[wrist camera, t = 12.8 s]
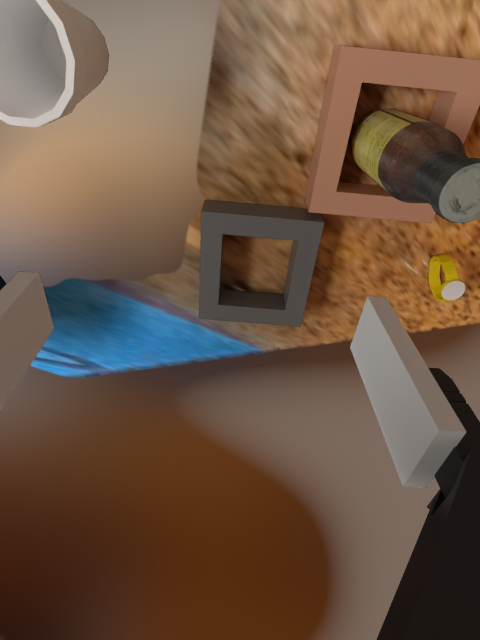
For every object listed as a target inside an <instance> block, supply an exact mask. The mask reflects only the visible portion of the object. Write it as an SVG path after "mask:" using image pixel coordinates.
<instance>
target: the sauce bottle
mask: <svg viewBox="0 0 480 640" xmlns="http://www.w3.org/2000/svg"><path fill="white" fill-rule="evenodd" d="M350 150H351V154H352V156H353V158H354V160H355V162H356V164H357V165H358V166H359V167H360V168H361V169H362V170H363V171H364V172H365V173H366V174H367V175H369V176H370V177H371V178H372V179H373V180H374V181H375V182H377V183H378V185H380V186H381V187H382V188H383V189H384V190H385V191H386V192H388V193H389V194H390V195H391V196H393V197H394V198H395V199H397V200H399V201H402V202H406V203H428V204H430V205H431V206H432V208H433V210H434V211H435V212H436V213H437V214H438V215H439V216H441V217H442V218H444V219H446V220H447V221H450V222H454V223H466V222H470V221H472V220H475V219H477V218H478V217H480V159H478V158H468V157H467V156H466V154H465V150H464V146H463V143H462V141H461V140H460V138H459V137H458V136H457V135H456V133H453V132H452V131H450V130H448V129H445V128H443V127H440V126H439V125H438V124H436V123H433V122H430V121H427V120H424V119H421V118H418V117H415V116H412V115H409V114H406V113H403V112H400V111H397V110H394V109H377V110H374V111H372V112H370V113H368V114H367V115H366V116H364V117H363V119H361V120H360V122H359V123H358V124H357V125H356V126H355V128H354V130H353V133H352V137H351V141H350Z"/></svg>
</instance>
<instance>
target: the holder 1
mask: <svg viewBox="0 0 480 640" xmlns="http://www.w3.org/2000/svg"><path fill="white" fill-rule="evenodd" d="M323 227H324V220H323V218H322V215H321V213H312V212H308V209H303V208H292V207H281V206H270V205H259V204H248V203H237V202H226V201H215V200H205V201H204V204H203V207H202V211H201V250H200V297H199V319H211V320H223V321H236V322H248V323H261V324H273V325H286V326H298V327H301V323H302V319H303V314H304V310H305V306H306V301H307V297H308V292H309V288H310V284H311V279H312V275H313V271H314V266H315V262H316V257H317V253H318V249H319V244H320V240H321V235H322V231H323ZM223 234H226V235H237V236H249V237H260V238H272V239H283V240H293V244H292V249H291V255H290V260H289V266H288V271H287V277H286V282H285V288H284V294H274V293H262V292H249V291H237V290H225V289H220V284H221V267H222V251H223Z"/></svg>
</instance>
